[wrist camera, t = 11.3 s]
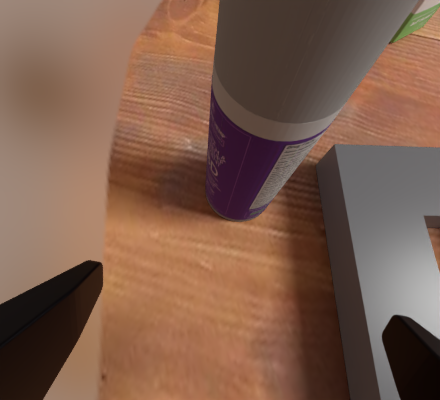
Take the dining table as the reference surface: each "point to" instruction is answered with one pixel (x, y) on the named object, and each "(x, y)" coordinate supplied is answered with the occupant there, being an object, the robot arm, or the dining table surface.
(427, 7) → the ink box
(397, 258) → the socket block
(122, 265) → the dining table surface
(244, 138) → the container
